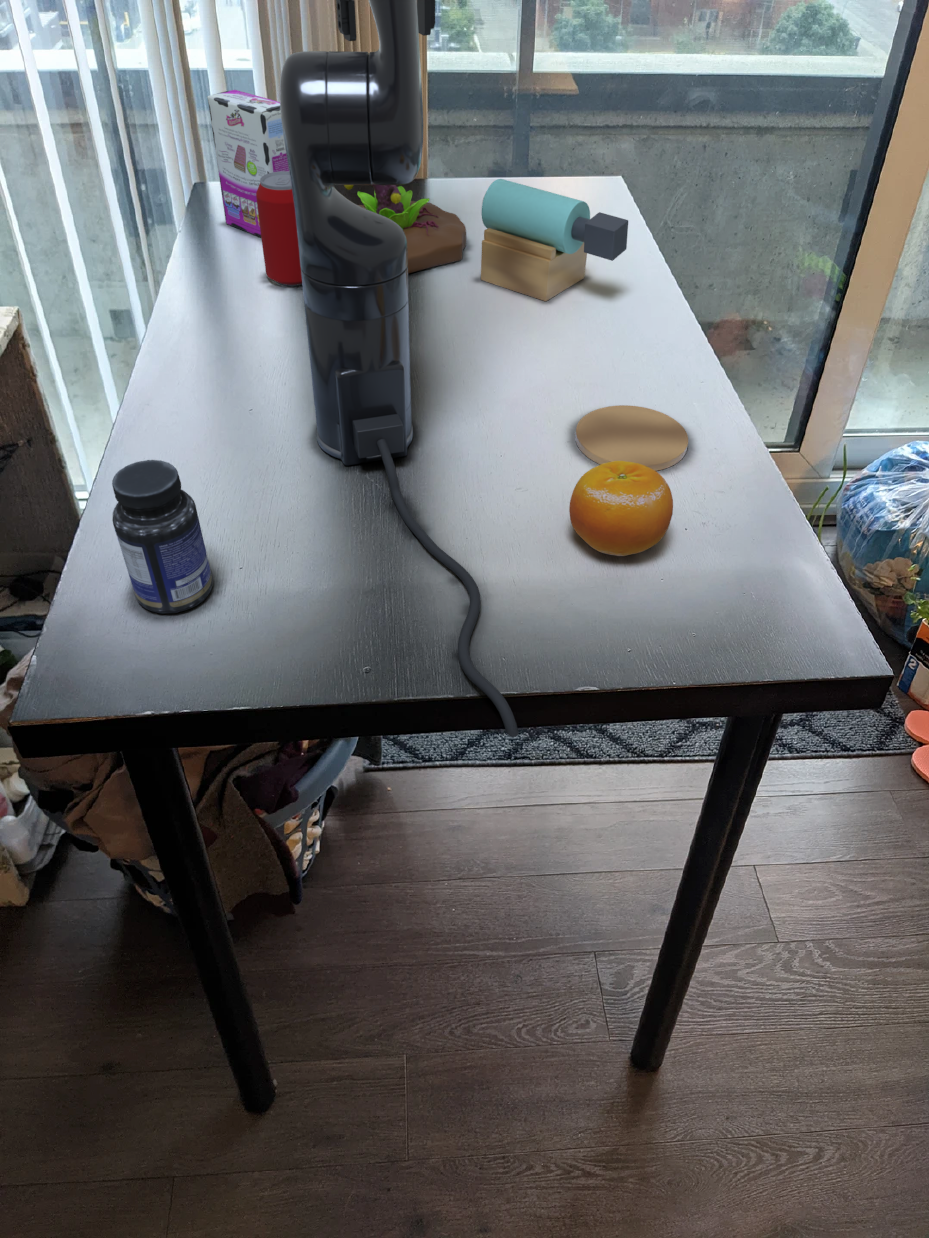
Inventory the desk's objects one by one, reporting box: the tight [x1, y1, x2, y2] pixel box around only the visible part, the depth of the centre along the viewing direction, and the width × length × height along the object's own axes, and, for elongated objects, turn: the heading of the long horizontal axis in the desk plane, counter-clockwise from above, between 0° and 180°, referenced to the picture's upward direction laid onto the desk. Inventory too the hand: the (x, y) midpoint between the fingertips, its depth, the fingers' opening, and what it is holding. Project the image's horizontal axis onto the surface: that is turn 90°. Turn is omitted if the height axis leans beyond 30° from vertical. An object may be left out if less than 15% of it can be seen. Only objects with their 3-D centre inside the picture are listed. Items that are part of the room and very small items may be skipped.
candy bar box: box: [206, 89, 289, 238], centre depth 126 cm, size 11×5×16 cm, turn 49°
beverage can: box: [256, 171, 302, 287], centre depth 116 cm, size 7×7×12 cm
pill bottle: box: [111, 459, 214, 614], centre depth 73 cm, size 6×6×11 cm
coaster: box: [574, 404, 689, 472], centre depth 94 cm, size 11×11×1 cm
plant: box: [343, 183, 467, 275], centre depth 125 cm, size 20×20×11 cm
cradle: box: [480, 228, 588, 302], centre depth 119 cm, size 10×9×6 cm
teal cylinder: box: [481, 178, 629, 262], centre depth 114 cm, size 18×6×6 cm, turn 53°
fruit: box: [568, 461, 674, 557], centre depth 80 cm, size 8×8×8 cm
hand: (387, 37), depth 102 cm, fingers open, 8 cm apart
